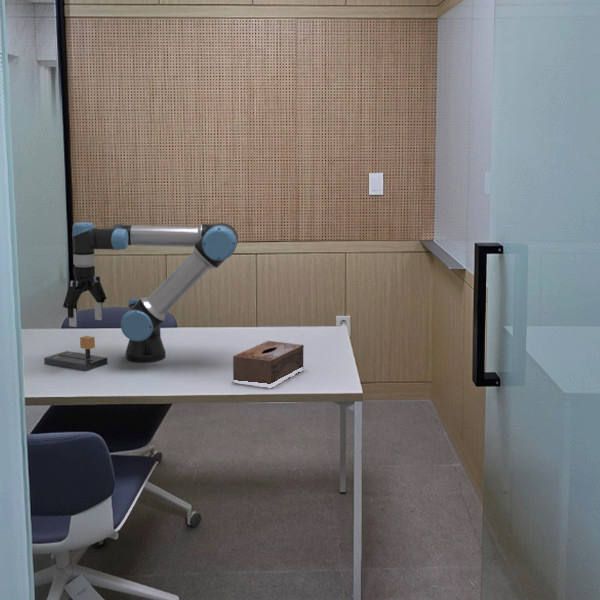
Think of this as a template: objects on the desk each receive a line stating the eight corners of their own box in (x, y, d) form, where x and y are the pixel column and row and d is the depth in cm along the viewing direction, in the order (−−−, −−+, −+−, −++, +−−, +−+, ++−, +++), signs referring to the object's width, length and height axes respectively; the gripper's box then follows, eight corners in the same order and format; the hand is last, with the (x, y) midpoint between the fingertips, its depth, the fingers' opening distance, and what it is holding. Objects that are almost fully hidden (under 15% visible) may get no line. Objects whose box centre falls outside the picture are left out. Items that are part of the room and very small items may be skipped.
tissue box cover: (270, 389, 305) (270, 360, 303) (233, 384, 311) (233, 356, 309) (303, 371, 327) (303, 344, 325) (268, 366, 334) (268, 340, 332)
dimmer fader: (95, 358, 331) (94, 337, 330) (89, 360, 329) (88, 338, 327) (86, 357, 333) (86, 335, 332) (80, 358, 331) (80, 337, 329)
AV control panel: (107, 364, 335) (107, 357, 334) (85, 371, 324) (85, 364, 324) (67, 357, 344) (66, 350, 344) (44, 364, 334) (44, 357, 333)
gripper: (99, 260, 337) (100, 315, 341) (51, 268, 316) (53, 328, 320) (115, 262, 334) (116, 318, 337) (67, 270, 312) (69, 330, 316)
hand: (85, 323), depth 329 cm, fingers open, 13 cm apart
